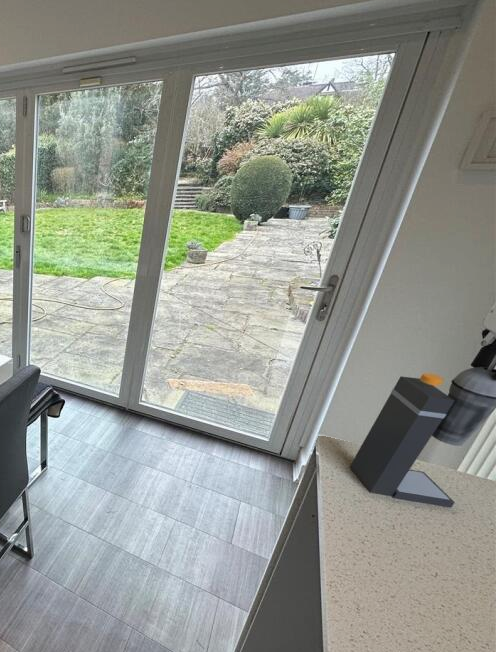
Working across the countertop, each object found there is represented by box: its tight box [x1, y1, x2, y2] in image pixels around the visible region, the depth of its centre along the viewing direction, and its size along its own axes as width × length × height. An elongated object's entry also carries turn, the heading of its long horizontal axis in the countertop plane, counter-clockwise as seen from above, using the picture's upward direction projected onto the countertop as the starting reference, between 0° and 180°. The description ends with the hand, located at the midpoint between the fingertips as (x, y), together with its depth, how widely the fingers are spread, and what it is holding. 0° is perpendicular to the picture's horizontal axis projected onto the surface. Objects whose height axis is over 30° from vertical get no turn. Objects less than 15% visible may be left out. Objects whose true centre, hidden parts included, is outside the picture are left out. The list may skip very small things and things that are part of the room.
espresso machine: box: [349, 376, 455, 508], centre depth 83 cm, size 14×9×24 cm, turn 77°
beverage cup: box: [431, 355, 496, 447], centre depth 76 cm, size 7×7×20 cm
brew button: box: [419, 372, 444, 387], centre depth 77 cm, size 3×3×1 cm
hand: (492, 373), depth 74 cm, fingers closed on beverage cup, 4 cm apart
